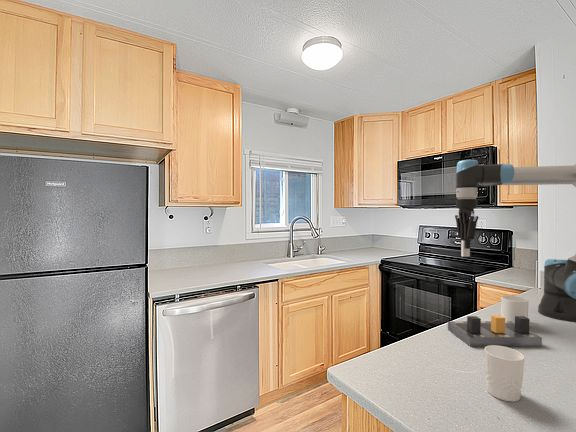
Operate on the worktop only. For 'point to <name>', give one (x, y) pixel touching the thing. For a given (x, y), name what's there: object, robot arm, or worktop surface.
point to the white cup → (504, 372)
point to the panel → (482, 335)
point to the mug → (513, 307)
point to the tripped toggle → (497, 324)
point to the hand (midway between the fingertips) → (465, 256)
